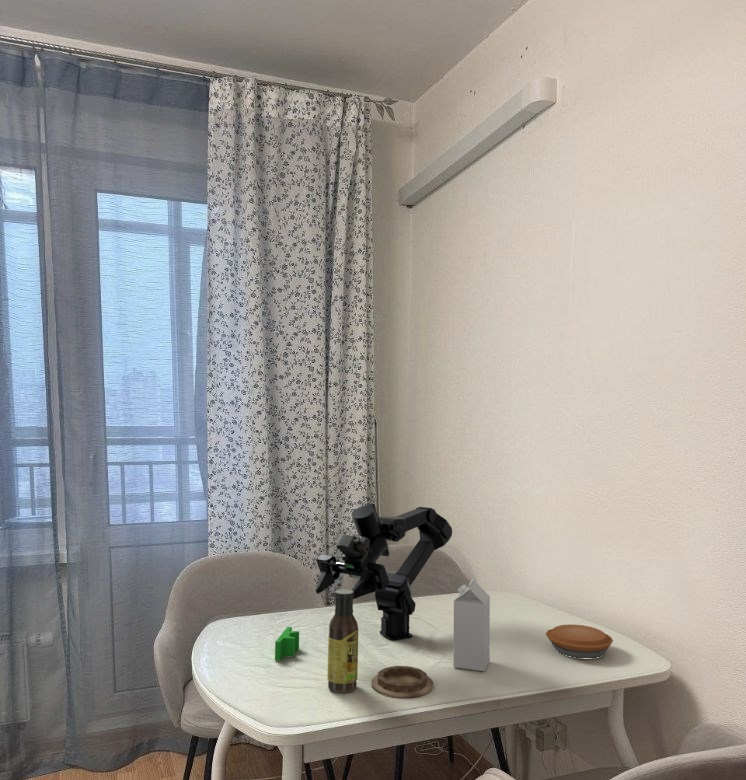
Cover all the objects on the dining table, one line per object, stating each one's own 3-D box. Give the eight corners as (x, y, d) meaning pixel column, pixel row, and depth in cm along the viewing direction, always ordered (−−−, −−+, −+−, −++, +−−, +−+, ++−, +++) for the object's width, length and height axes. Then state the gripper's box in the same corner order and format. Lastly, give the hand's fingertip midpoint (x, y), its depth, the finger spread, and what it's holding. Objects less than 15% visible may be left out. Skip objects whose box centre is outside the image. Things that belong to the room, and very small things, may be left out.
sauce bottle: (351, 696, 132) (352, 596, 133) (322, 692, 134) (324, 594, 135) (361, 684, 138) (362, 589, 139) (334, 680, 140) (335, 586, 141)
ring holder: (413, 669, 147) (413, 660, 147) (445, 691, 135) (445, 681, 135) (361, 679, 141) (361, 669, 141) (389, 703, 129) (390, 692, 129)
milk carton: (489, 661, 152) (490, 578, 152) (484, 672, 145) (484, 586, 146) (459, 657, 154) (459, 576, 155) (453, 668, 147) (453, 583, 148)
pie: (626, 655, 157) (626, 634, 157) (582, 668, 148) (582, 645, 149) (576, 636, 170) (575, 617, 170) (532, 647, 162) (532, 626, 162)
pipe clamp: (290, 663, 150) (290, 642, 150) (274, 662, 151) (275, 641, 151) (301, 645, 161) (302, 626, 162) (287, 644, 162) (287, 626, 162)
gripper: (328, 521, 162) (290, 561, 151) (391, 529, 151) (355, 573, 140) (341, 557, 166) (305, 599, 155) (403, 568, 155) (369, 613, 144)
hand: (332, 595), depth 148 cm, fingers open, 9 cm apart
